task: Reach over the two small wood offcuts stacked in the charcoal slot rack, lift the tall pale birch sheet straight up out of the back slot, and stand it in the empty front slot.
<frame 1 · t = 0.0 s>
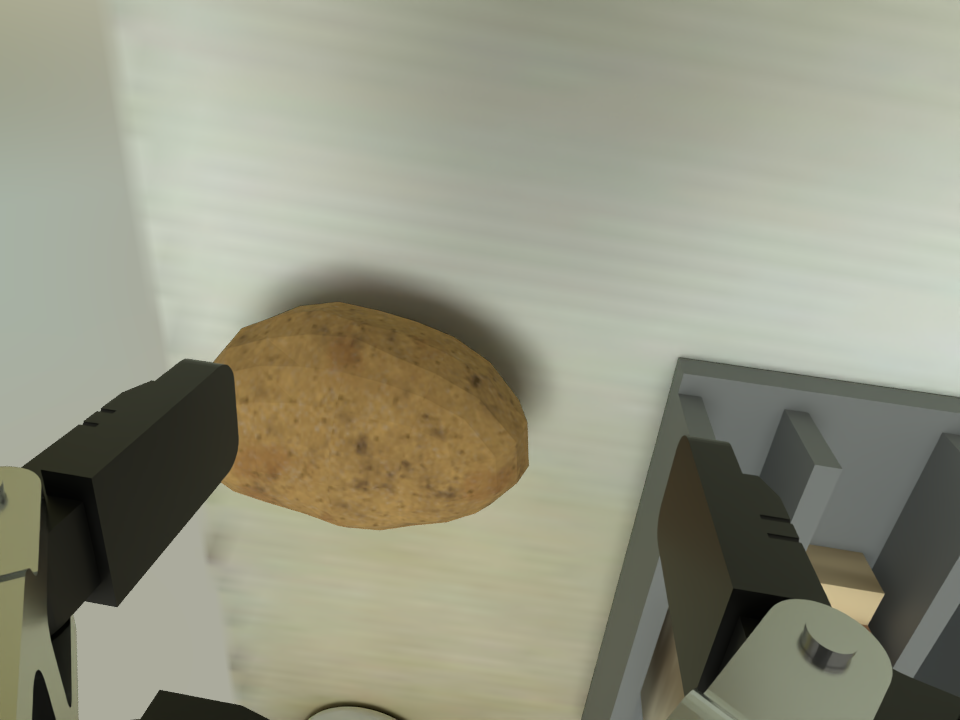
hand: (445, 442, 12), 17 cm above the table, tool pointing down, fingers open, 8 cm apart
offcut lower: (792, 605, 32), point 1 cm above the table, touching offcut upper, rack
potato: (393, 371, 31), on the table
sheet: (676, 600, 33), point 1 cm above the table, touching rack
rack: (753, 592, 34), on the table
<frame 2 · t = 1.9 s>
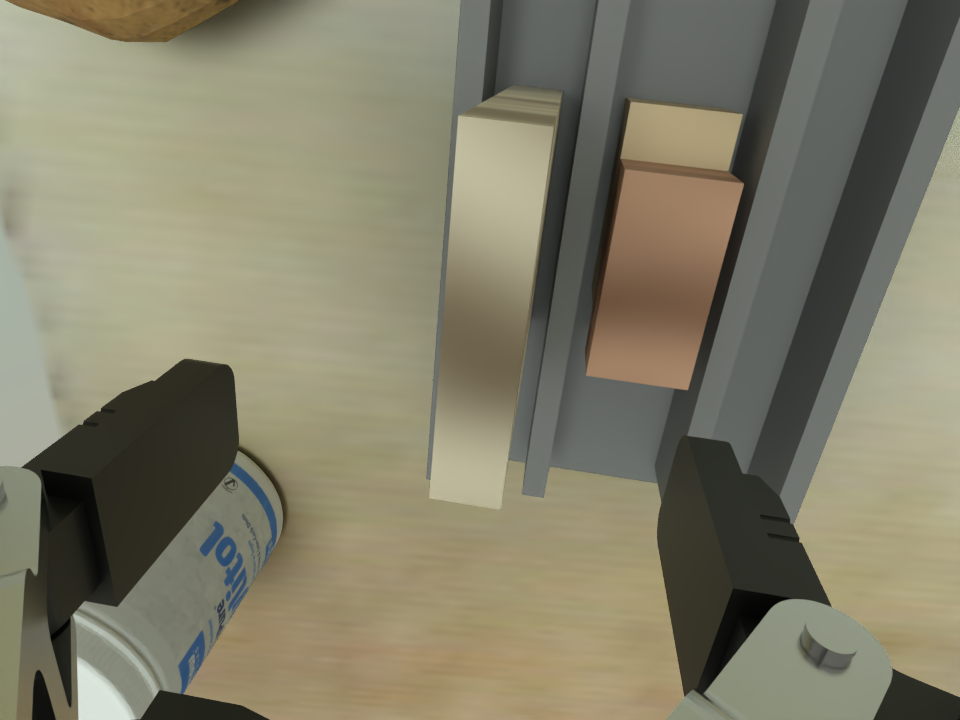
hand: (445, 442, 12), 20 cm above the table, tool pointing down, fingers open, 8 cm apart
supplement tub: (215, 493, 40), on the table
offcut lower: (654, 204, 27), point 1 cm above the table, touching offcut upper, rack
offcut upper: (651, 267, 26), point 4 cm above the table, touching offcut lower
sheet: (522, 211, 28), point 1 cm above the table, touching rack
rack: (618, 215, 29), on the table
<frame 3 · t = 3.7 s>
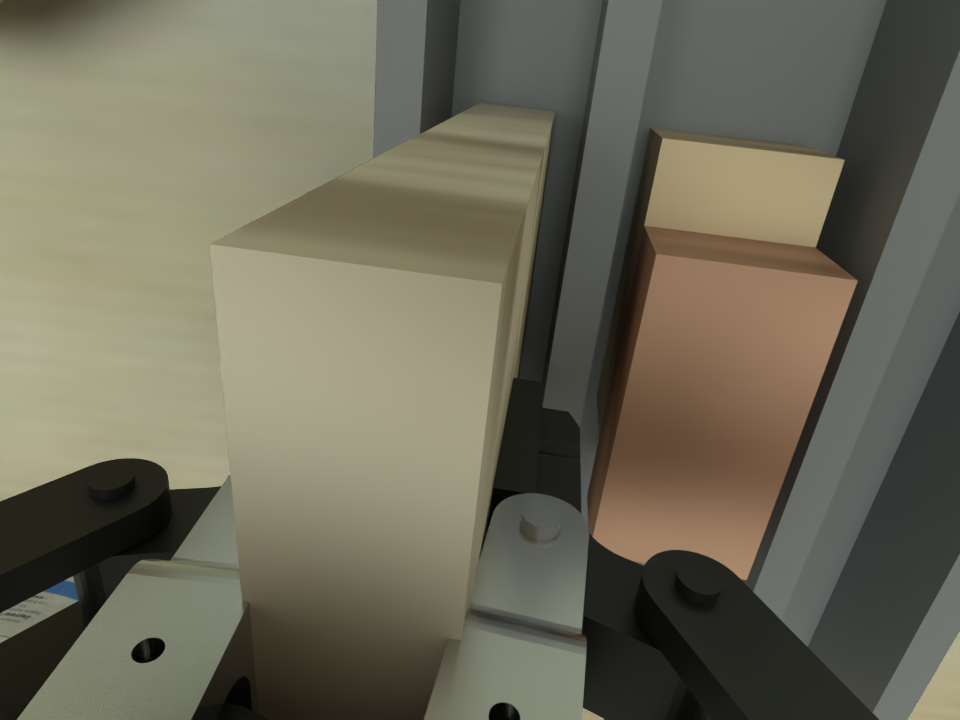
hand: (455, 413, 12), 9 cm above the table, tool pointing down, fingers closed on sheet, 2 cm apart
supplement tub: (106, 626, 31), on the table
offcut lower: (691, 283, 18), point 1 cm above the table, touching offcut upper, rack
offcut upper: (688, 384, 17), point 4 cm above the table, touching offcut lower
sheet: (497, 287, 19), point 2 cm above the table, touching gripper
rack: (635, 293, 20), on the table
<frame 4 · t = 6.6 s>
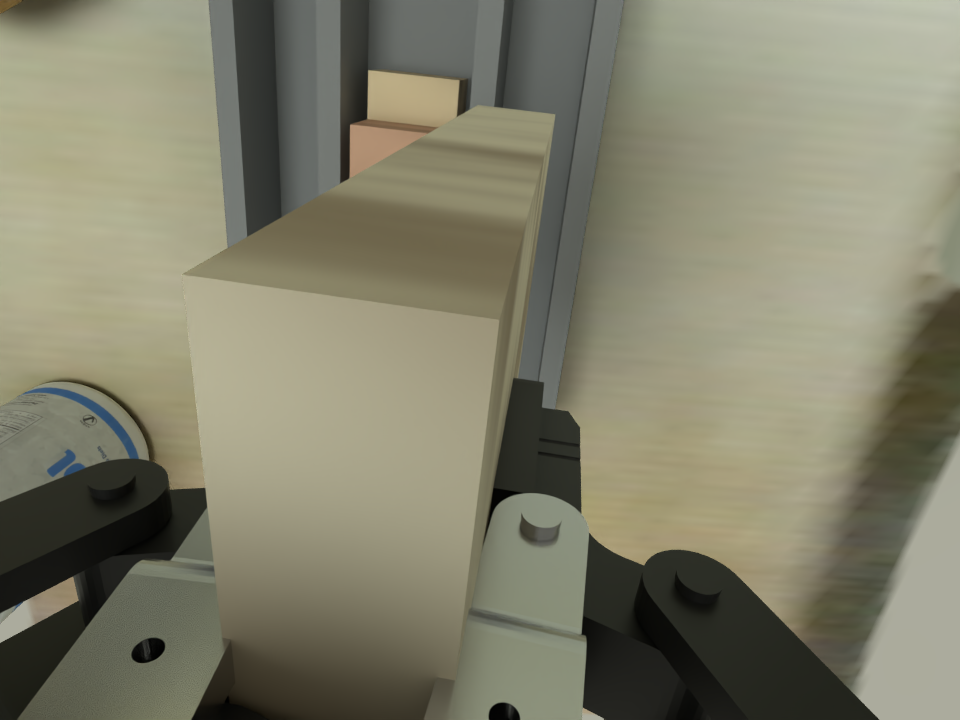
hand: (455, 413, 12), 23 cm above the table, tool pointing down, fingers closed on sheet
supplement tub: (90, 436, 44), on the table
offcut lower: (420, 162, 32), point 1 cm above the table, touching offcut upper, rack
offcut upper: (407, 213, 30), point 4 cm above the table, touching offcut lower
sheet: (495, 293, 19), point 16 cm above the table, touching gripper
rack: (402, 175, 34), on the table
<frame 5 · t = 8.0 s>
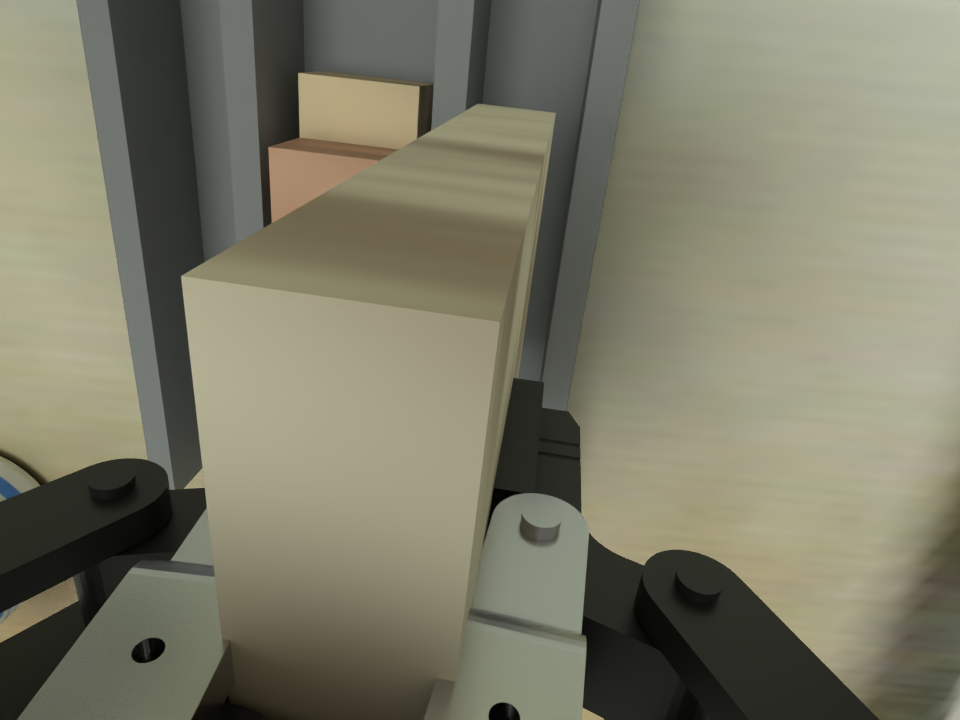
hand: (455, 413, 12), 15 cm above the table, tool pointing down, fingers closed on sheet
offcut lower: (376, 190, 25), point 1 cm above the table, touching offcut upper, rack
offcut upper: (356, 259, 23), point 4 cm above the table, touching offcut lower
sheet: (495, 292, 19), point 8 cm above the table, touching gripper
rack: (356, 204, 27), on the table
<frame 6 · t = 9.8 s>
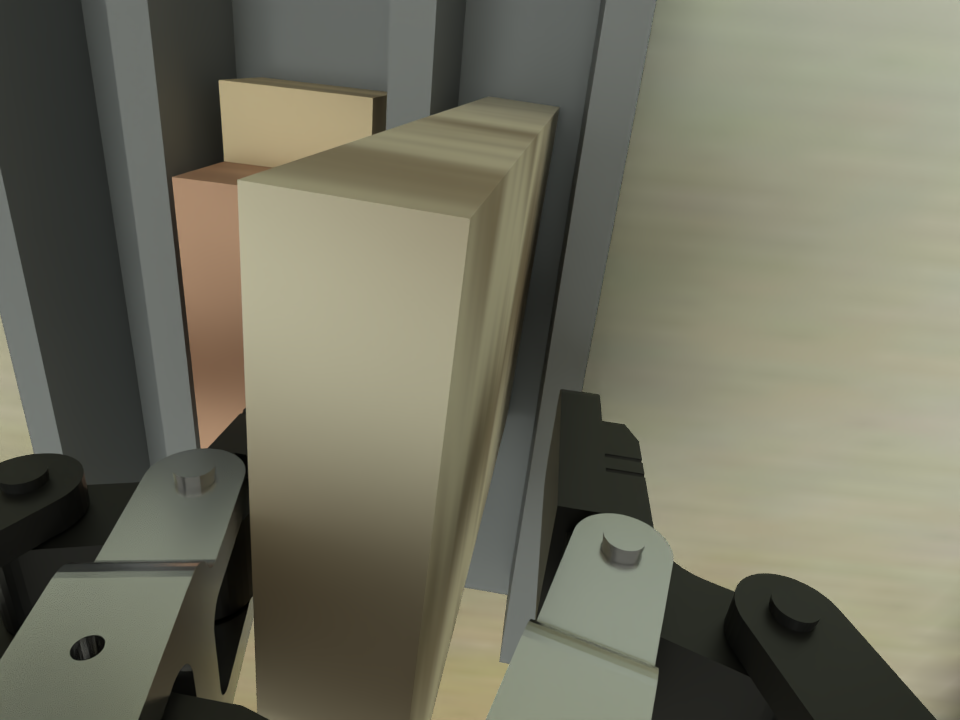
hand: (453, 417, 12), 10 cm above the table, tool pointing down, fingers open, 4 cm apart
offcut lower: (329, 223, 20), point 1 cm above the table, touching offcut upper, rack
offcut upper: (300, 311, 19), point 4 cm above the table, touching offcut lower
sheet: (498, 273, 20), point 2 cm above the table, touching rack
rack: (308, 237, 22), on the table
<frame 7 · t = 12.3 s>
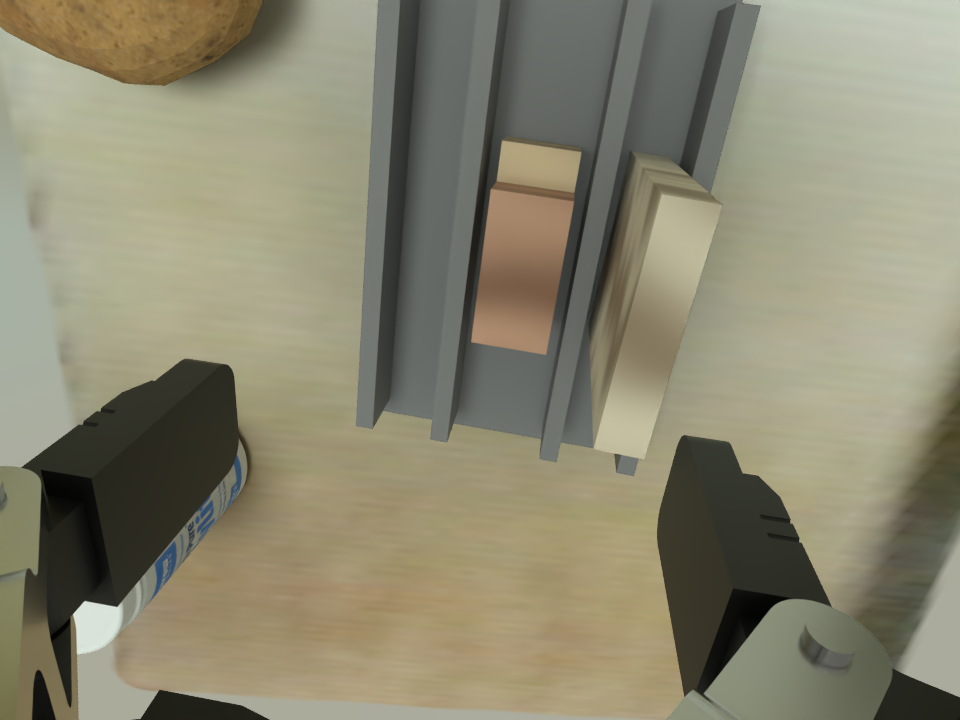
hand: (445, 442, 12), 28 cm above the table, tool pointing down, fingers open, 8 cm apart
supplement tub: (191, 447, 48), on the table
offcut lower: (531, 216, 36), point 1 cm above the table, touching offcut upper, rack
offcut upper: (523, 262, 35), point 4 cm above the table, touching offcut lower
sheet: (626, 246, 36), point 2 cm above the table, touching rack
rack: (509, 225, 38), on the table
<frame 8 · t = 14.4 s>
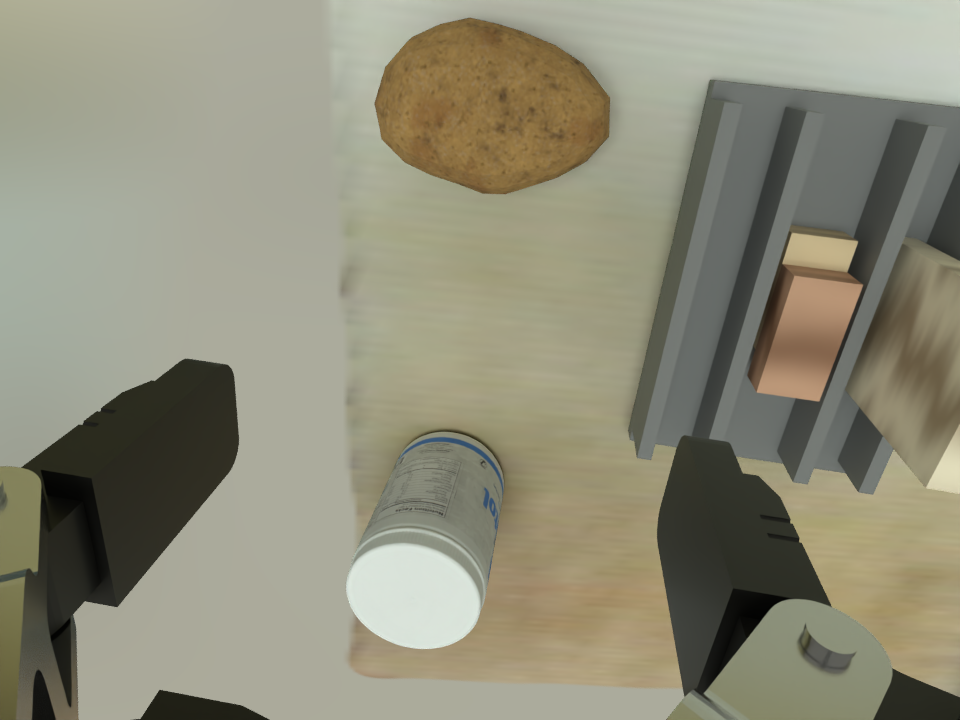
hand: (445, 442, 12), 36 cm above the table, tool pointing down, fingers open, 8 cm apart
supplement tub: (450, 472, 56), on the table
offcut lower: (792, 285, 44), point 1 cm above the table, touching offcut upper, rack
offcut upper: (794, 326, 42), point 4 cm above the table, touching offcut lower
potato: (501, 106, 43), on the table
sheet: (870, 308, 44), point 1 cm above the table, touching rack
rack: (763, 289, 46), on the table
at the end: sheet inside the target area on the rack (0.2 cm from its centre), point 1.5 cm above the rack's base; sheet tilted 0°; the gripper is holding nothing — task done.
